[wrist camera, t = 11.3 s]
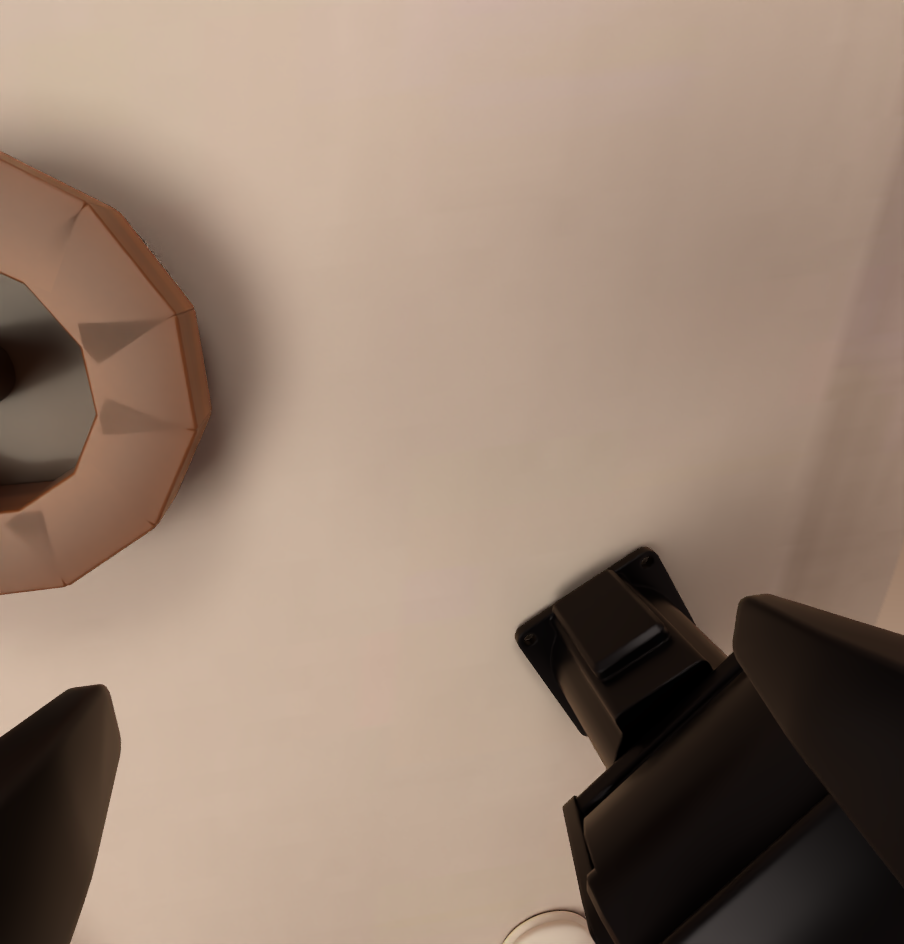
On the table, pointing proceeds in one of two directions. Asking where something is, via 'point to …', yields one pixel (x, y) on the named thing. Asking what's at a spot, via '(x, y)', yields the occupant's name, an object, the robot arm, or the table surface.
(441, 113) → the table surface
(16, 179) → the ring
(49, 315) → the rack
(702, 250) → the table surface
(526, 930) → the chess piece
